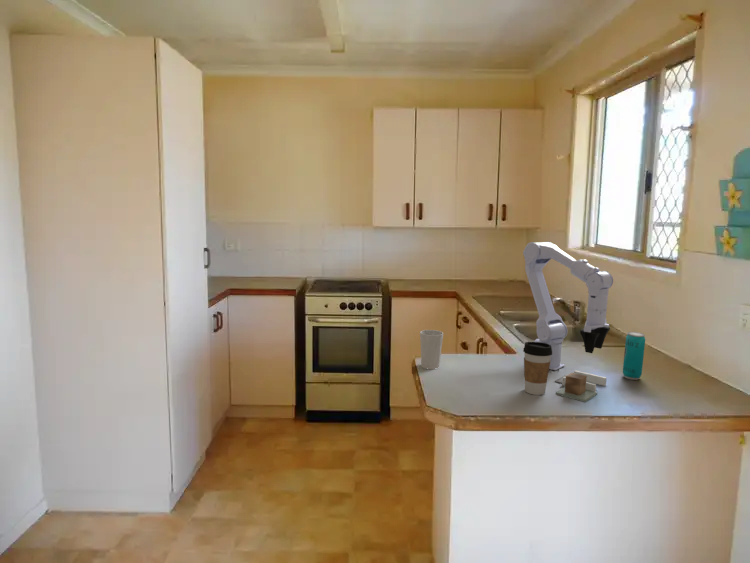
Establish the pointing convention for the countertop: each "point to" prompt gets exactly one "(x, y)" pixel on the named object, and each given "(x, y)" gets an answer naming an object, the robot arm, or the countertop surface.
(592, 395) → the coaster
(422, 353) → the cup
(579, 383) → the block
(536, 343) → the coffee cup
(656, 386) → the countertop surface
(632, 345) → the beverage can
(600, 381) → the white u-shaped frame
